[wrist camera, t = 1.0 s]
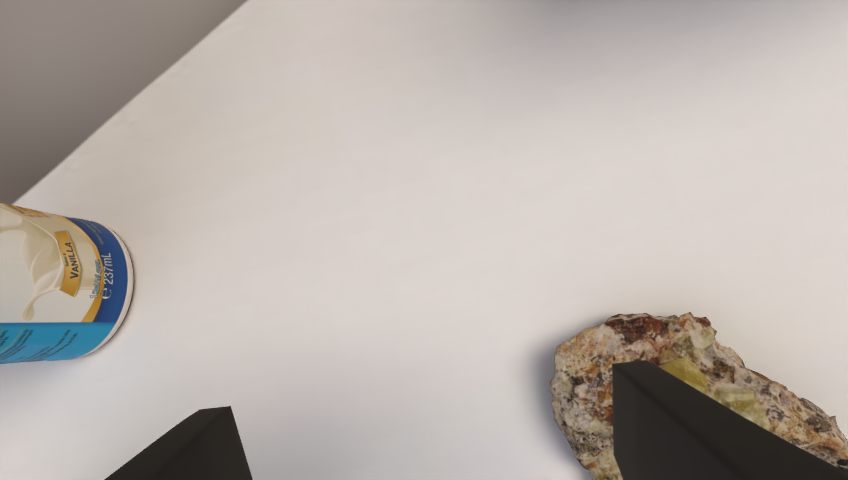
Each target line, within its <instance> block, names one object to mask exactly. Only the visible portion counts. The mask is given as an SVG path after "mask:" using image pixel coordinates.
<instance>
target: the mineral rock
mask: <svg viewBox="0 0 848 480" xmlns="http://www.w3.org/2000/svg"><path fill="white" fill-rule="evenodd" d="M716 332H717V331H716V330H714V329H713V328H712V327H711V323H710V321H709V320H708V319H707V318H706V317H702V318H697V317H693V315H692V314H691V312H689V313H686V314H684V315H681V316H680V318H678V317H677V316H675V315H673V316H670V317H668V318H665V317H660V316H659V317H653V316H651V315H649V314H647V313H643V314H630V315H623V314H618V315H615V316H612V317H610V319H609V320H608V321H607V322H606V323H604V324H601V325H599V326H597V327H593V328H588V329H586V330H584V331H582V332H580V333H579V334H577V335H576V336H574V337H572V338H570V339H569V340H567V341H565V342H563V343H562V344H561V345H559V346H558V347H557V348H556V350H555V359H554V362H555V364H556V365H555V371H554V372H555V377H554V378H552V379H551V381H550V391H551V392H552V394H553V400H552V403H551V406H552V409H553V413H554V414H555V416H554V419H555V421H556V422H557V424H558V426H559V428H560V430H561V431H562V432H563V433H564V435H565V437H566V438H567V440H568V442H569V444H570V445H571V447H572V449H573V453H574V456H575V457H576V458H577V460H578V461H579V462H580V464H581V465H582V466H583V467H584V468H586V469H588V470H589V471H590V474H591V477H592V480H623V478H622V475H621V473H620V470H619V467H618V465H617V462H616V460H615V457H614V455H613V391H612V364H614V363H622V362H631V361H640V360H647V361H649V362H651V363H653V364H654V365H656V366H658V367H660V368H662V369H663V370H665V371H667V372H668V373H670V374H672V375H674V376H675V377H677V378H679V379H680V380H682V381H684V382H685V383H687V384H689V385H690V386H692V387H694V388H695V389H697V390H699V391H700V392H702V393H704V394H705V395H707V396H709V397H710V398H712V399H714V400H716V401H717V402H719V403H721V404H722V405H724V406H726V407H727V408H729V409H731V410H733V411H734V412H736V413H738V414H740V415H741V416H743V417H745V418H746V419H748V420H750V421H752V422H753V423H755V424H757V425H759V426H761V427H762V428H764V429H766V430H768V431H770V432H771V433H773V434H775V435H777V436H779V437H780V438H782V439H784V440H786V441H788V442H790V443H791V444H793V445H795V446H797V447H799V448H801V449H803V450H805V451H807V452H809V453H811V454H813V455H814V456H816V457H818V458H820V459H822V460H824V461H826V462H828V463H830V464H832V465H834V466H836V467H838V468H839V469H841V470H843V471H845V472H847V473H848V440H847V439H846V438H845V436H844V435H843V434H842V432H841V431H840V430H839V428H838V426H837V423H836V416H832V417H829V416H828V415H827V414H826V413H824V411H823V410H822V409H820V408H819V407H817V406H816V405H815V404H813V403H812V402H810V401H808V400H806V399H804V398H801V399H799V398H797V396H796V395H795V394H794V393H793V392H790V391H788V390H787V388H786V386H783V385H781V384H779V383H777V382H775V381H771V380H770V379H768V378H767V377H765V376H763V375H761V374H759V373H757V372H754V371H752V370H749V369H747V368H745V365H744V363H743V361H742V359H741V358H740V357H739V356H738V355H737V354H736V353H735V352H734V351H733V350H732V349H731V348H726V347H724V346H722V345H720V344H719V343H718V342H717V341H715V335H716Z"/></svg>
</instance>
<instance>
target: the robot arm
mask: <svg viewBox="0 0 848 480" xmlns="http://www.w3.org/2000/svg"><path fill="white" fill-rule="evenodd" d="M612 391H613V455H614V457H615V460H616V462H617V465H618V467H619V470H620V473H621V475H622V478H623V480H848V473H847V472H845V471H843V470H841V469H839V468H838V467H836V466H834V465H832V464H830V463H828V462H826V461H824V460H822V459H820V458H818V457H816V456H814V455H813V454H811V453H809V452H807V451H805V450H803V449H801V448H799V447H797V446H795V445H793V444H791V443H790V442H788V441H786V440H784V439H782V438H780V437H779V436H777V435H775V434H773V433H771V432H770V431H768V430H766V429H764V428H762V427H761V426H759V425H757V424H755V423H753V422H752V421H750V420H748V419H746V418H745V417H743V416H741V415H740V414H738V413H736V412H734V411H733V410H731V409H729V408H727V407H726V406H724V405H722V404H721V403H719V402H717V401H716V400H714V399H712V398H710V397H709V396H707V395H705V394H704V393H702V392H700V391H699V390H697V389H695V388H694V387H692V386H690V385H689V384H687V383H685V382H684V381H682V380H680V379H679V378H677V377H675V376H674V375H672V374H670V373H668V372H667V371H665V370H663V369H662V368H660V367H658V366H656V365H654V364H653V363H651V362H649V361H647V360H640V361H631V362H622V363H614V364H612ZM105 480H252V476H251V473H250V470H249V466H248V463H247V460H246V456H245V453H244V450H243V446H242V443H241V439H240V436H239V433H238V429H237V426H236V423H235V419H234V416H233V413H232V409H231V406H228V407H219V408H210V409H201V410H198V411H197V412H195V413H194V414H192V415H191V416H189V417H188V418H186V419H185V420H183V421H182V422H180V423H179V424H178V425H176V426H175V427H173V428H172V429H171V430H169V431H168V432H167V433H165V434H164V435H163V436H161V437H160V438H159V439H157V440H156V441H155V442H153V443H152V444H151V445H149V446H148V447H147V448H146V449H144V450H143V451H142V452H140V453H139V454H138V455H136V456H135V457H134V458H132V459H131V460H130V461H128V462H127V463H126V464H124V465H123V466H122V467H121V468H119V469H118V470H117V471H115V472H114V473H113V474H111V475H110V476H109V477H107V478H106V479H105Z"/></svg>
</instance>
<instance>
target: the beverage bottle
mask: <svg viewBox="0 0 848 480" xmlns="http://www.w3.org/2000/svg"><path fill="white" fill-rule="evenodd" d="M132 291H133V268H132V262H131V259H130V256H129V253H128V251H127V248H126V247H125V245H124V243H123V242H122V240H121V239H120V238H119V237H118V236H117V235H116V234H115V233H114V232H113V231H112V230H111V229H109V228H107V227H106V226H104V225H102V224H99V223H96V222H92V221H88V220H83V219H77V218H68V217H64V216H59V215H54V214H50V213H45V212H41V211H36V210H31V209H27V208H22V207H18V206H13V205H9V204H4V203H0V364H6V363H18V362H32V361H44V360H48V361H53V360H67V359H75V358H79V357H82V356H85V355H87V354H90V353H92V352H93V351H95V350H97V349H98V348H100V347H101V346H102V345H104V344H105V343H106V342H107V341H108V340H109V339H110V338H111V337H112V336H113V335H114V333H115V332H116V331H117V329H118V328H119V326H120V325H121V323H122V321H123V319H124V317H125V315H126V313H127V311H128V308H129V305H130V301H131V297H132Z"/></svg>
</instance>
